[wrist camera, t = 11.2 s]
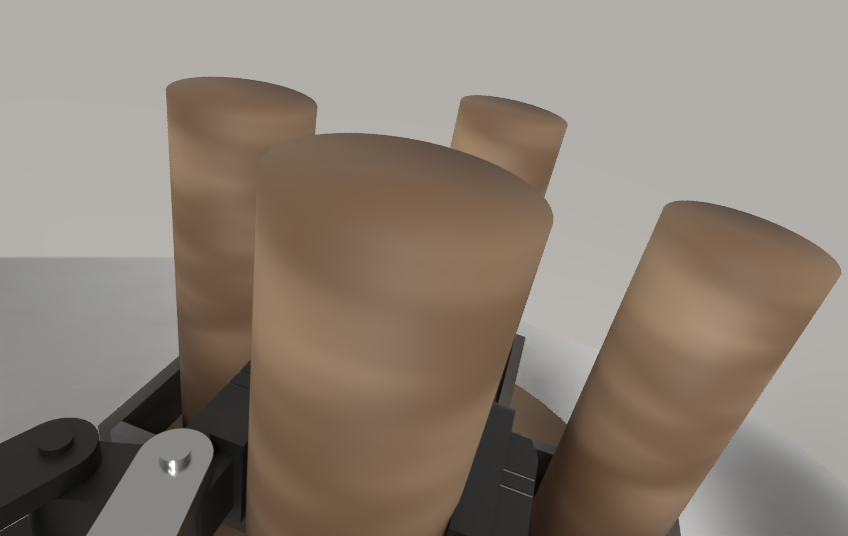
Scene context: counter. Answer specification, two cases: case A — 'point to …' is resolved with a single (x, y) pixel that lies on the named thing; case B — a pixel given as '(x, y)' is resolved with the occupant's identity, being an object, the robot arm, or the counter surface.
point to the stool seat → (611, 373)
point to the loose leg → (379, 329)
